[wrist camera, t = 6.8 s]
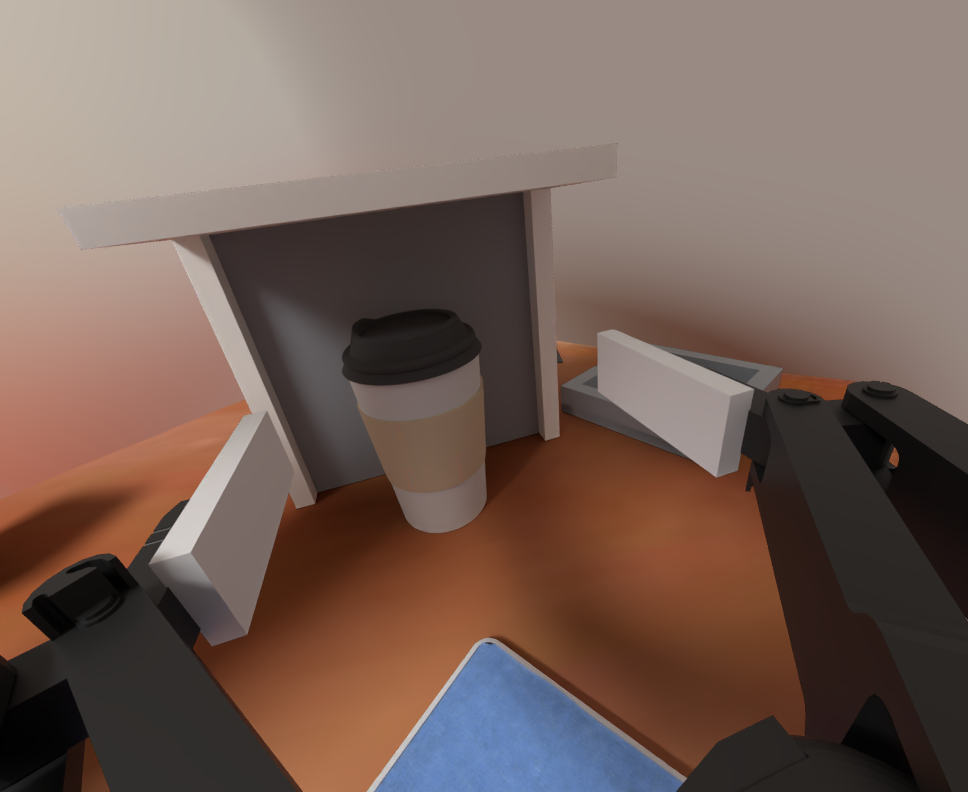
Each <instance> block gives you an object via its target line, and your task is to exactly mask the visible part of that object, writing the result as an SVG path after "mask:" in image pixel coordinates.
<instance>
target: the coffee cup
mask: <svg viewBox="0 0 968 792" xmlns="http://www.w3.org/2000/svg"><path fill="white" fill-rule="evenodd" d="M481 348H482V345H481V342H480V341H479V340H478V339H477V337H476V336H475V331H474V329H473V328H472V327H471V326H470V325H468V324H466V323H464V322H462V321H461V320H460V318H459V317H458V316H457V314H456V313H455V312H453V311H450V310H445V309H420V310H412V311H405V312H400V313H396V314H391V315H388V316H384V317H381V318H378V319H369V318H362V319H360V320H358V321H357V322H355V323H354V324H353V326H352V333H351V342H350V345H349V346H348V347H347V348H346V349H345V350H344V352H343V354H342V361H343V364H344V365H343V368H342V374H343V376H344V377H345V378H346V379H348V380H349V381H350V384H351V386H352V389H353V391H354V394H355V396H356V399H357V401H358V402H357V407H358V410H359V412H360V415H361V417H362V419H363V422H364V424H365V426H366V429H367V431H368V433H369V436H370V438H371V441H372V443H373V445H374V448H375V450H376V452H377V455H378V457H379V459H380V462H381V464H382V466H383V469H384V471H385V474H386V476H387V478H388V480H389V481H390V482H391V484H392V486H393V489H394V491H395V494H396V496H397V499H398V501H399V503H400V506H401V508H402V511H403V513H404V516H405V518H406V520H407V521H408V523H409V524H410V525H411V526H413V527H414V528H416V529H418V530H420V531H423V532H428V533H444V532H449V531H453V530H456V529H458V528H461V527H463V526H465V525H466V524H468V523H470V522H471V521H472V520H474V519H475V518H476V517H477V516H478V515H479V513H480V512H481V511H482V509H483V507H484V505H485V503H486V498H487V492H486V474H485V456H486V441H485V416H484V390H483V379H482V376H481V375H480V366H479V353H480V351H481Z"/></svg>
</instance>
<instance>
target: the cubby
mask: <svg viewBox="0 0 968 792" xmlns="http://www.w3.org/2000/svg"><path fill="white" fill-rule="evenodd" d="M616 170H617V143H614V144H605V145H597V146H588V147H580V148H572V149H562V150H553V151H545V152H537V153H528V154H519V155H510V156H502V157H493V158H485V159H476V160H467V161H458V162H450V163H441V164H433V165H424V166H415V167H407V168H399V169H389V170H382V171H372V172H363V173H355V174H347V175H337V176H329V177H321V178H312V179H303V180H295V181H287V182H277V183H268V184H260V185H252V186H243V187H234V188H225V189H217V190H208V191H200V192H191V193H182V194H174V195H165V196H156V197H147V198H140V199H130V200H122V201H113V202H104V203H96V204H87V205H78V206H70V207H61V208H57V209H58V211H59V212H60V214H61V216H62V218H63V219H64V221H65V223H66V225H67V226H68V228H69V230H70V232H71V233H72V235H73V237H74V239H75V240H76V242H77V244H78V245H79V247H80V249H81V250H83V249H92V248H101V247H110V246H119V245H128V244H137V243H146V242H155V241H164V240H172V243H173V245H174V247H175V249H176V251H177V253H178V255H179V257H180V260H181V262H182V264H183V266H184V268H185V270H186V273H187V275H188V277H189V279H190V281H191V283H192V285H193V288H194V290H195V292H196V294H197V296H198V298H199V300H200V303H201V305H202V307H203V309H204V311H205V313H206V316H207V318H208V320H209V322H210V324H211V326H212V328H213V331H214V333H215V335H216V337H217V339H218V341H219V343H220V346H221V348H222V350H223V352H224V354H225V356H226V358H227V361H228V363H229V365H230V367H231V369H232V371H233V373H234V375H235V378H236V380H237V382H238V384H239V386H240V388H241V390H242V393H243V395H244V397H245V399H246V401H247V403H248V406H249V408H250V410H251V412H252V414H253V413H258V412H262V411H266V410H267V412H268V414H269V416H270V418H271V420H272V423H273V425H274V427H275V429H276V431H277V434H278V436H279V438H280V440H281V442H282V445H283V447H284V449H285V451H286V453H287V456H288V458H289V460H290V462H291V464H292V467H293V469H294V471H295V473H294V477H293V480H292V483H291V487H290V490H289V494H290V496H291V498H292V500H293V502H294V504H295V506H296V509H298V508H302V507H305V506H309V505H313V504H315V503H316V497H317V492H321V491H325V490H328V489H332V488H336V487H340V486H343V485H347V484H351V483H354V482H358V481H362V480H366V479H369V478H373V477H377V476H381V475H384V474H385V471H384V469H383V466H382V464H381V462H380V459H379V457H378V455H377V452H376V450H375V448H374V445H373V443H372V441H371V438H370V436H369V433H368V431H367V429H366V426H365V424H364V422H363V419H362V417H361V415H360V412H359V410H358V407H357V402H358V401H357V399H356V396H355V394H354V391H353V389H352V386H351V384H350V381H349V380H348V379H346V378H345V377H344V376H343V374H342V368H343V365H344V364H343V361H342V354H343V352H344V350H345V349H346V348H347V347H348V346H349V345H350V342H351V333H352V326H353V324H354V323H355V322H357V321H358V320H360V319H362V318H369V319H378V318H381V317H384V316H388V315H391V314H396V313H400V312H405V311H412V310H420V309H445V310H450V311H453V312H455V313H456V314H457V316H458V317H459V318H460V320H461V321H462V322H464V323H466V324H468V325H470V326H471V327H472V328H473V329H474V331H475V336H476V337H477V339H478V340H479V341H480V342H481V345H482V348H481V351H480V353H479V366H480V375H481V376H482V379H483V390H484V416H485V441H486V447H488V446H492V445H496V444H500V443H503V442H507V441H511V440H515V439H518V438H522V437H526V436H529V435H533V434H537V433H539V434H540V435H541V436H542V437H543V438H544V440H545V441H546V440H550V439H554V438H557V437H560V428H559V402H558V375H557V348H556V321H555V294H554V267H553V240H552V215H551V188H554V187H560V186H566V185H572V184H579V183H584V182H590V181H597V180H603V179H610V178H615V177H616Z"/></svg>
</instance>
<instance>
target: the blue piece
mask: <svg viewBox="0 0 968 792" xmlns="http://www.w3.org/2000/svg"><path fill="white" fill-rule="evenodd" d="M686 779H687V778H686V777H685V776H683V775H682V774H680V773H679V772H677V771H676V770H675V769H673V768H672V767H670V766H669V765H668V764H666V763H665V762H664V761H663V760H661V759H659V758H658V757H656V756H655V755H654V754H653V753H651V752H650V751H649V750H647V749H646V748H644V747H643V746H642V745H640V744H639V743H638V742H636V741H635V740H634V739H632V738H631V737H629V736H628V735H627V734H625V733H624V732H623V731H621V730H620V729H619V728H617V727H616V726H614V725H613V724H612V723H610V722H609V721H608V720H606V719H605V718H603V717H602V716H601V715H599V714H598V713H596V712H595V711H594V710H592V709H591V708H590V707H588V706H587V705H586V704H584V703H583V702H582V701H580V700H579V699H577V698H576V697H575V696H573V695H572V694H571V693H569V692H568V691H566V690H565V689H564V688H562V687H561V686H559V685H558V684H557V683H556V682H554V681H553V680H552V679H550V678H549V677H548V676H546V675H545V674H543V673H542V672H540V671H539V670H538V669H536V668H535V667H534V666H533V665H531V664H530V663H529V662H527V661H526V660H524V659H523V658H522V657H520V656H519V655H518V654H516V653H515V652H514V651H512V650H511V649H509V648H508V647H507V646H505V645H504V644H503V643H501V642H500V641H498V640H497V639H494V638H484V639H481V640H480V641H478V642H477V643H475V644H474V646H473V647H472V648H471V650H470V651H469V653H468V654H467V655H466V657H465V658H464V659H463V661H462V662H461V663H460V665H459V666H458V668H457V669H456V670H455V672H454V673H453V674H452V676H451V677H450V679H449V680H448V681H447V683H446V684H445V685H444V687H443V688H442V690H441V691H440V692H439V694H438V695H437V696H436V698H435V699H434V700H433V702H432V703H431V704H430V706H429V707H428V709H427V710H426V711H425V713H424V714H423V716H422V717H421V718H420V720H419V721H418V722H417V724H416V725H415V727H414V728H413V729H412V731H411V732H410V733H409V735H408V736H407V738H406V739H405V740H404V742H403V743H402V744H401V746H400V747H399V748H398V750H397V751H396V753H395V754H394V755H393V757H392V758H391V759H390V761H389V762H388V763H387V765H386V766H385V767H384V769H383V770H382V772H381V773H380V774H379V776H378V777H377V778H376V780H375V781H374V782H373V784H372V785H371V786H370V788H369V789H368V790H367V792H676V791H677V790H678V788H679V787H680V786H681V785H682V784H683V782H684V781H685V780H686Z"/></svg>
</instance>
